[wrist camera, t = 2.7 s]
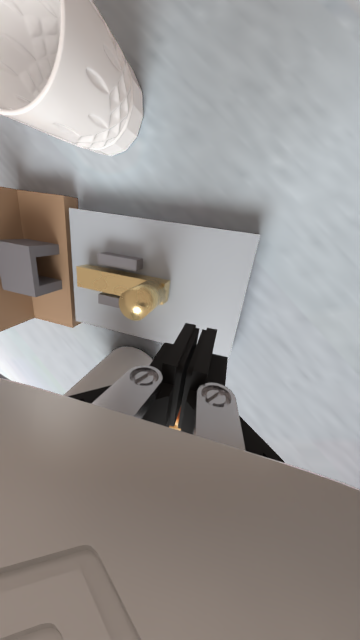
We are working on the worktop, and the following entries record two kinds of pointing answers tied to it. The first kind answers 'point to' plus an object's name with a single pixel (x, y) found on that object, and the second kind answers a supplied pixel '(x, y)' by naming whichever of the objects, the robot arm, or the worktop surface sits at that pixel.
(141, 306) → the bolt
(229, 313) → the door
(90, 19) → the white cup
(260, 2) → the worktop surface
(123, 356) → the can
